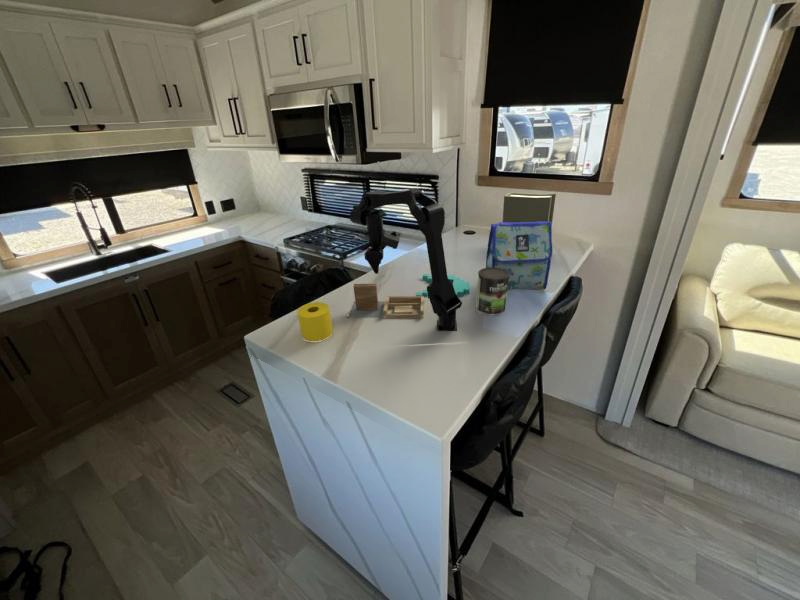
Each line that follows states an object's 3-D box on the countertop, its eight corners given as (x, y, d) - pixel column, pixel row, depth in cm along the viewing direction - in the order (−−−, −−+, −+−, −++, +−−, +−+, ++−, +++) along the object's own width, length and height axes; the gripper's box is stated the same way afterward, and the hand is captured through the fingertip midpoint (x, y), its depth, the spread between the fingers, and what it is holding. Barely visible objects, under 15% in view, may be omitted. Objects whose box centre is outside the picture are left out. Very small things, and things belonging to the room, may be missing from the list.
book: (499, 251, 179) (502, 194, 166) (505, 245, 185) (509, 191, 173) (542, 257, 167) (550, 197, 154) (548, 251, 174) (555, 193, 161)
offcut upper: (412, 314, 125) (412, 311, 125) (394, 314, 125) (394, 312, 125) (412, 308, 129) (412, 305, 128) (394, 309, 129) (394, 306, 129)
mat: (380, 318, 125) (380, 317, 124) (347, 318, 126) (347, 317, 125) (385, 302, 135) (384, 301, 135) (354, 302, 136) (354, 301, 136)
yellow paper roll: (326, 343, 112) (322, 318, 108) (297, 341, 114) (291, 316, 110) (336, 326, 121) (333, 302, 117) (309, 325, 123) (304, 301, 118)
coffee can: (511, 313, 124) (515, 276, 117) (484, 318, 121) (487, 281, 115) (496, 300, 132) (499, 265, 126) (471, 304, 130) (473, 269, 124)
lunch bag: (490, 296, 136) (496, 229, 123) (482, 278, 150) (487, 217, 138) (549, 294, 135) (560, 227, 122) (535, 276, 149) (544, 215, 137)
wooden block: (377, 310, 129) (375, 285, 124) (356, 310, 130) (353, 285, 125) (378, 308, 130) (376, 283, 126) (357, 308, 131) (354, 283, 127)
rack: (423, 318, 123) (423, 311, 122) (383, 318, 125) (383, 311, 123) (424, 303, 133) (424, 296, 131) (387, 303, 134) (386, 296, 133)
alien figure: (416, 300, 137) (468, 302, 133) (415, 295, 136) (468, 297, 132) (423, 278, 154) (470, 280, 150) (423, 273, 153) (470, 275, 149)
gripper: (395, 235, 116) (398, 278, 123) (399, 220, 132) (400, 258, 140) (362, 236, 117) (366, 279, 124) (369, 220, 133) (373, 259, 140)
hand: (378, 268), depth 132 cm, fingers open, 9 cm apart
